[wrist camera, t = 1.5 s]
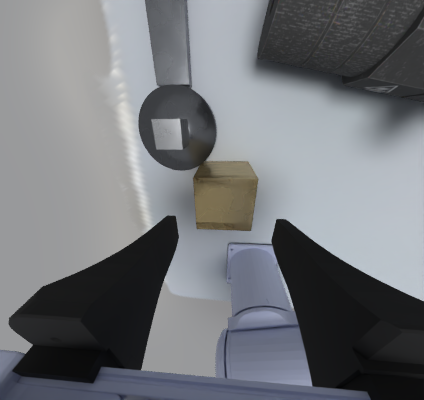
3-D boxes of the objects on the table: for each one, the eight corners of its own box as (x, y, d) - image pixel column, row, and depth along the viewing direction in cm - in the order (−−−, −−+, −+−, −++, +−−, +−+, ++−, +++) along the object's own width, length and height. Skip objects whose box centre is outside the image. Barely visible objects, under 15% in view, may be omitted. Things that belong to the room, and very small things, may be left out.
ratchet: (216, 166, 19) (214, 180, 15) (152, 166, 19) (133, 178, 15) (219, -224, 8) (215, -540, 4) (83, -204, 9) (-34, -472, 5)
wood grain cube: (244, 202, 21) (251, 230, 15) (203, 201, 21) (196, 228, 16) (248, 161, 18) (258, 178, 13) (202, 161, 18) (193, 177, 13)
